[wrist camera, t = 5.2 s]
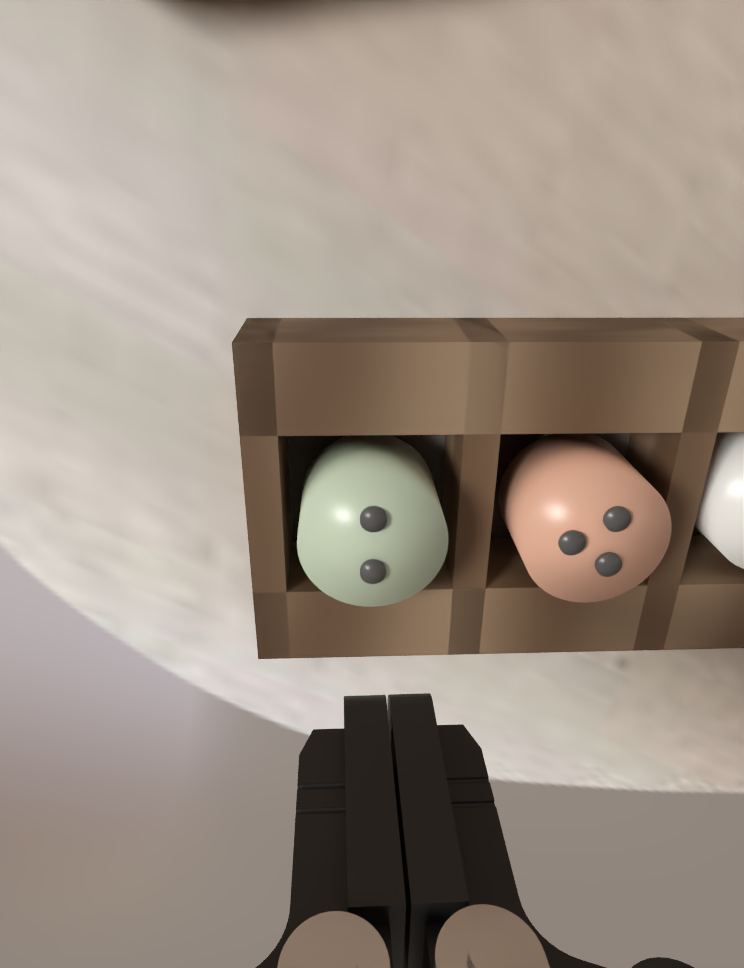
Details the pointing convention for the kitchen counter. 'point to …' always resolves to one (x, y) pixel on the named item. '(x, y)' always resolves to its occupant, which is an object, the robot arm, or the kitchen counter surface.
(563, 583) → the button three
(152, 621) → the kitchen counter surface
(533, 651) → the wooden compartment tray
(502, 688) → the kitchen counter surface
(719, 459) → the button one
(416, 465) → the button two
